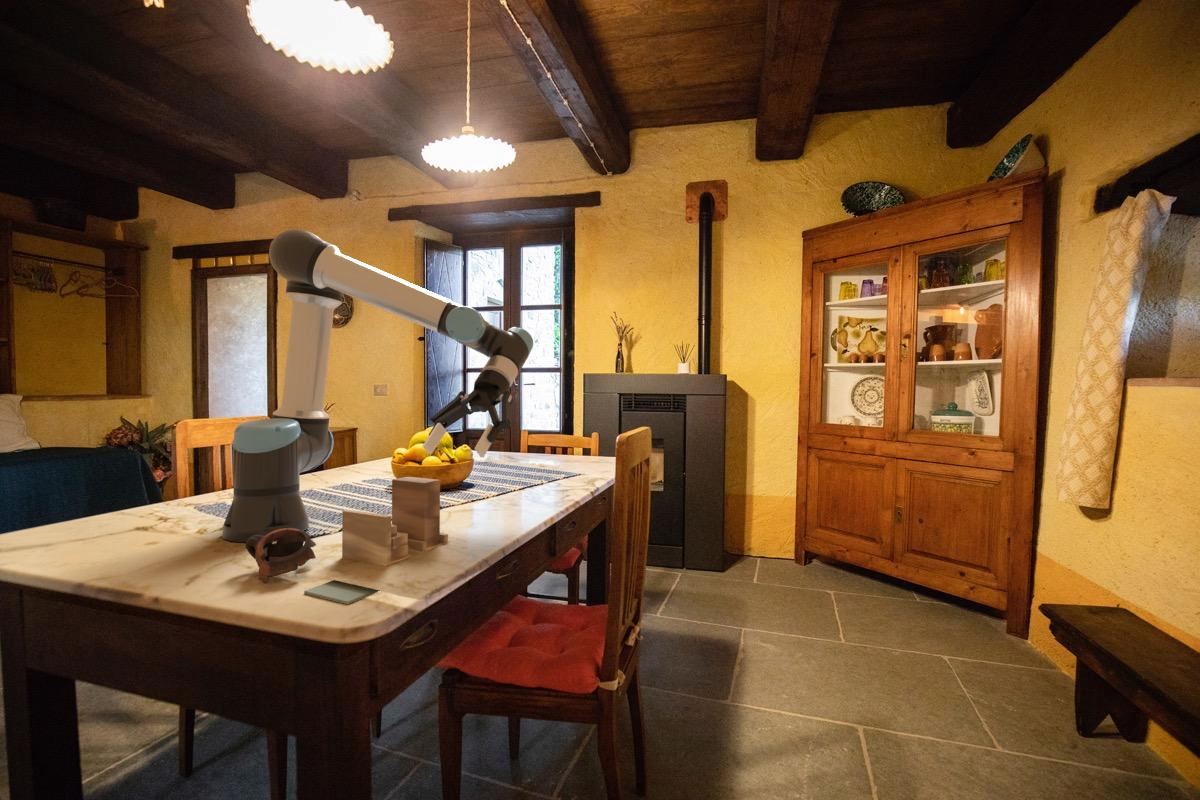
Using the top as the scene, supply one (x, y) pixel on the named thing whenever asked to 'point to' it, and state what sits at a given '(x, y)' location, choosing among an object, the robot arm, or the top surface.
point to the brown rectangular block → (417, 508)
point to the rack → (378, 539)
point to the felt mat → (340, 591)
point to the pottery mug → (280, 551)
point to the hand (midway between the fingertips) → (452, 451)
